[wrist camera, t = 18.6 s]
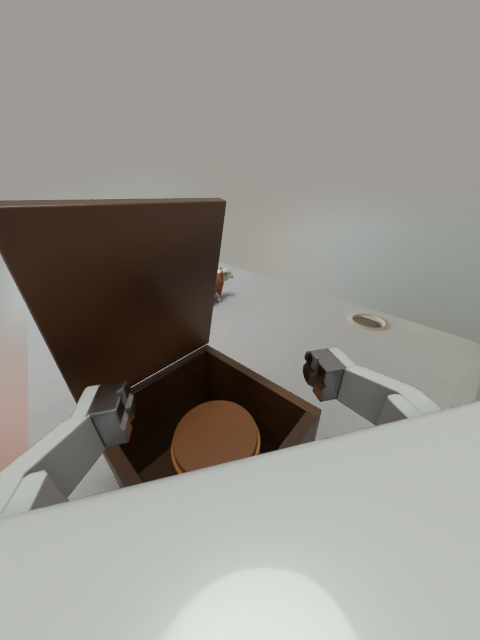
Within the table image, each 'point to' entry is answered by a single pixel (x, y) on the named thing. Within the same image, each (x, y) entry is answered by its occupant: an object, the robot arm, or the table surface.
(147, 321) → the lid
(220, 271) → the bull figurine
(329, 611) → the robot arm
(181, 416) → the brown wooden box
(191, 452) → the brown lidded canister
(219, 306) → the table surface
